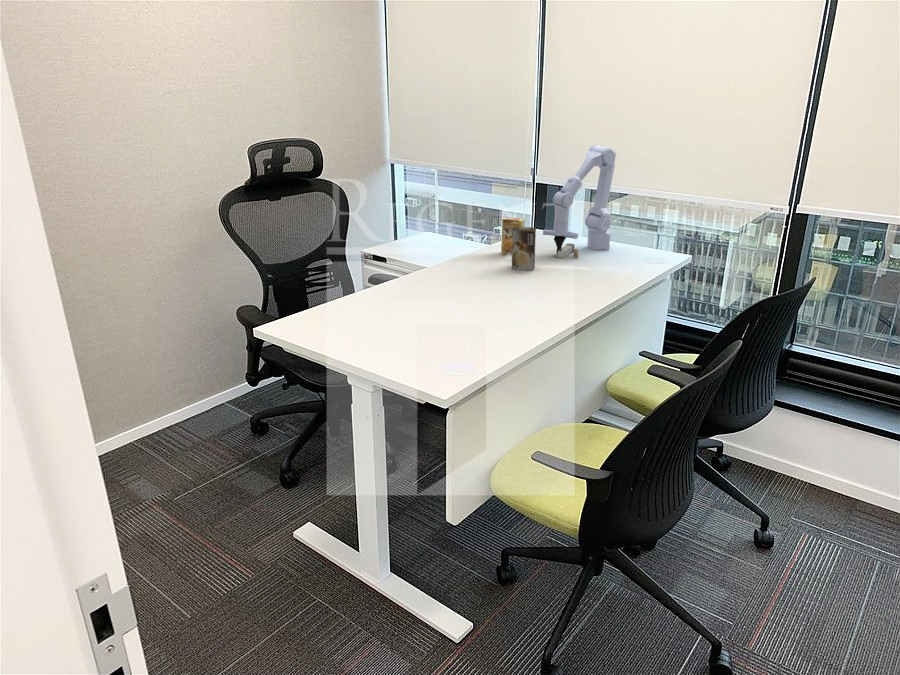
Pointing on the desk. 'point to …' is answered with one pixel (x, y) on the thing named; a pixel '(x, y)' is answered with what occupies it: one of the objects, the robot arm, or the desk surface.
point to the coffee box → (523, 248)
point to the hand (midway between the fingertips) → (559, 253)
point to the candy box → (509, 232)
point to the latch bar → (566, 250)
